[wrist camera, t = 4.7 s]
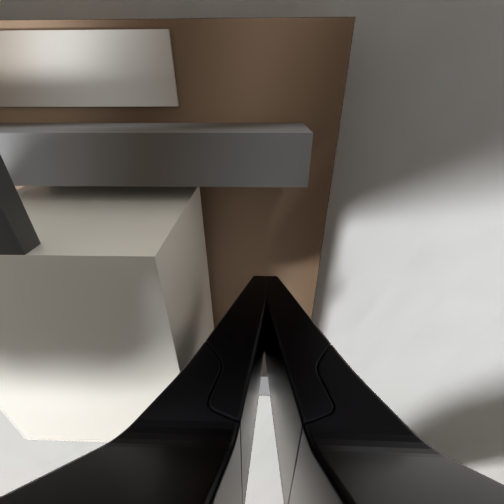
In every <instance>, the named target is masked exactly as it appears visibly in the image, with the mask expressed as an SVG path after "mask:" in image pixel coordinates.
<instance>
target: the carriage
mask: <svg viewBox="0 0 504 504" xmlns="http://www.w3.org/2000/svg"><path fill="white" fill-rule="evenodd" d="M213 330H214V322H213V312H212V302H211V293H210V283H209V273H208V263H207V254H206V244H205V234H204V225H203V215H202V205H201V196H200V187H123V186H24V187H22V188H19V189H17V190H16V188H15V185H14V183H13V181H12V179H11V177H10V174H9V172H8V170H7V168H6V166H5V163H4V161H3V159H2V157H1V155H0V409H1V410H2V412H3V413H4V414H5V415H6V416H7V418H8V419H9V420H10V421H11V422H12V424H13V425H14V426H15V427H16V428H17V430H18V431H19V432H20V433H21V434H22V436H23V437H24V438H25V439H26V440H55V441H90V442H110V441H111V440H113V439H114V438H116V437H117V436H118V435H120V434H121V433H122V432H123V431H125V430H126V429H127V428H128V427H129V426H130V425H131V424H132V423H133V422H134V421H135V420H136V419H137V418H138V417H139V416H140V415H141V414H142V413H143V412H144V411H145V410H146V409H147V407H148V406H149V405H150V404H151V403H152V402H153V401H154V400H155V399H156V398H157V397H158V396H159V395H160V394H161V393H162V392H163V390H164V389H165V388H166V387H167V386H168V385H169V384H170V383H171V382H172V381H173V380H174V379H175V378H176V377H177V375H178V374H179V373H180V372H181V371H182V370H183V369H184V368H185V367H186V365H187V364H188V363H189V362H190V360H191V359H192V358H193V357H194V355H195V354H196V353H197V352H198V350H199V349H200V347H201V346H202V345H203V343H204V342H206V339H207V338H208V337H209V335H210V334H211V333H212V331H213Z"/></svg>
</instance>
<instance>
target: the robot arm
mask: <svg viewBox="0 0 504 504" xmlns="http://www.w3.org/2000/svg"><path fill="white" fill-rule="evenodd" d="M264 352H265V359H266V367H267V375H268V383H269V391H270V399H271V406H272V414H273V422H274V430H275V438H276V446H277V453H278V461H279V469H280V477H281V485H282V493H283V500H284V504H504V485H503V484H501V483H499V482H497V481H495V480H493V479H491V478H489V477H487V476H485V475H483V474H481V473H479V472H476V471H474V470H472V469H470V468H468V467H466V466H464V465H462V464H460V463H458V462H456V461H454V460H452V459H450V458H448V457H446V456H444V455H443V454H441V453H440V452H438V451H436V450H435V449H433V448H432V447H431V446H429V445H428V444H427V443H425V442H424V441H423V440H422V439H421V438H419V437H418V436H417V435H416V434H415V433H414V432H413V431H412V430H411V429H410V428H409V427H408V426H407V425H406V424H405V423H404V422H403V421H402V420H401V419H400V418H399V417H398V416H397V415H396V414H395V413H394V412H393V411H392V410H391V409H390V408H389V407H388V406H387V405H386V404H385V403H384V402H383V401H382V400H381V399H380V398H379V397H378V396H377V395H376V394H375V393H374V392H373V391H372V390H371V389H370V388H369V387H368V386H367V385H366V384H365V382H364V381H363V380H362V379H361V378H360V377H359V376H358V375H357V374H356V373H355V372H354V371H353V370H352V369H351V367H350V366H349V365H348V364H347V363H346V361H345V360H344V359H343V358H342V357H341V355H340V354H339V353H338V352H337V351H336V349H335V348H334V347H333V345H331V343H330V342H329V341H328V339H327V338H326V337H325V336H324V334H323V333H322V332H321V330H320V329H319V328H318V327H317V325H316V324H315V323H314V322H313V320H312V319H311V318H310V317H309V315H308V314H307V313H306V312H305V310H304V309H303V308H302V307H301V305H300V304H299V303H298V302H297V300H296V299H295V298H294V297H293V295H292V294H291V293H290V291H289V290H288V289H287V288H286V286H285V285H284V284H283V283H282V281H281V280H280V279H279V278H278V277H277V276H256V275H255V276H253V277H252V278H251V280H250V281H249V282H248V284H247V285H246V286H245V288H244V289H243V291H242V292H241V293H240V295H239V296H238V297H237V299H236V300H235V301H234V303H233V304H232V305H231V307H230V308H229V310H228V311H227V312H226V314H225V315H224V316H223V318H222V319H221V320H220V322H219V323H218V324H217V326H216V327H215V329H214V330H213V331H212V333H211V334H210V335H209V337H208V338H207V339H206V342H204V343H203V345H202V346H201V347H200V349H199V350H198V352H197V353H196V354H195V355H194V357H193V358H192V359H191V360H190V362H189V363H188V364H187V365H186V367H185V368H184V369H183V370H182V371H181V372H180V373H179V374H178V375H177V377H176V378H175V379H174V380H173V381H172V382H171V383H170V384H169V385H168V386H167V387H166V388H165V389H164V390H163V392H162V393H161V394H160V395H159V396H158V397H157V398H156V399H155V400H154V401H153V402H152V403H151V404H150V405H149V406H148V407H147V409H146V410H145V411H144V412H143V413H142V414H141V415H140V416H139V417H138V418H137V419H136V420H135V421H134V422H133V423H132V424H131V425H130V426H129V427H128V428H127V429H126V430H125V431H123V432H122V433H121V434H120V435H118V436H117V437H116V438H114V439H113V440H111V441H110V442H108V443H107V444H105V445H103V446H101V447H99V448H97V449H95V450H93V451H91V452H89V453H87V454H85V455H83V456H81V457H79V458H77V459H75V460H73V461H71V462H69V463H67V464H65V465H63V466H61V467H59V468H57V469H55V470H53V471H51V472H49V473H47V474H45V475H43V476H41V477H39V478H37V479H35V480H33V481H31V482H29V483H27V484H25V485H23V486H21V487H19V488H17V489H15V490H13V491H11V492H9V493H8V494H6V495H3V496H1V497H0V504H245V497H246V489H247V482H248V474H249V466H250V458H251V451H252V443H253V435H254V428H255V420H256V412H257V405H258V397H259V389H260V381H261V374H262V366H263V358H264Z"/></svg>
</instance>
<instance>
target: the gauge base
mask: <svg viewBox="0 0 504 504" xmlns="http://www.w3.org/2000/svg"><path fill="white" fill-rule="evenodd" d="M354 22H355V17H290V18H190V19H90V20H0V155H1V157H2V159H3V161H4V163H5V166H6V168H7V170H8V172H9V174H10V177H11V179H12V181H13V183H14V185H15V188H16V190H17V189H19V188H22V187H24V186H123V187H200V196H201V205H202V215H203V225H204V234H205V244H206V254H207V263H208V273H209V283H210V293H211V302H212V312H213V322H214V329H215V327H216V326H217V324H218V323H219V322H220V320H221V319H222V318H223V316H224V315H225V314H226V312H227V311H228V310H229V308H230V307H231V305H232V304H233V303H234V301H235V300H236V299H237V297H238V296H239V295H240V293H241V292H242V291H243V289H244V288H245V286H246V285H247V284H248V282H249V281H250V280H251V278H252V277H253V276H255V275H256V276H277V277H278V278H279V279H280V280H281V281H282V283H283V284H284V285H285V286H286V288H287V289H288V290H289V291H290V293H291V294H292V295H293V297H294V298H295V299H296V300H297V302H298V303H299V304H300V305H301V307H302V308H303V309H304V310H305V312H306V313H307V314H308V315H309V317H310V318H312V311H313V304H314V297H315V290H316V283H317V276H318V269H319V263H320V256H321V249H322V242H323V235H324V228H325V221H326V215H327V208H328V201H329V194H330V187H331V180H332V173H333V166H334V160H335V153H336V146H337V139H338V132H339V125H340V118H341V111H342V105H343V98H344V91H345V84H346V77H347V70H348V63H349V56H350V50H351V43H352V36H353V29H354ZM259 396H270V391H269V383H268V375H267V367H266V359H265V352H264V358H263V366H262V374H261V381H260V389H259Z"/></svg>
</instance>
